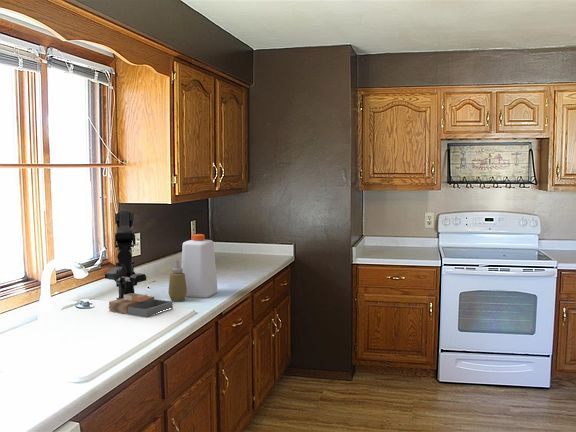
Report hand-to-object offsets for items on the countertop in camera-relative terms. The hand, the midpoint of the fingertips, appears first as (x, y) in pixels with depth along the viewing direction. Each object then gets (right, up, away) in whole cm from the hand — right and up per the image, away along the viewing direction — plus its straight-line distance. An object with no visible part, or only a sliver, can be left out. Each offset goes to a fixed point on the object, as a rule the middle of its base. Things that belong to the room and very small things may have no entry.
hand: (125, 296), depth 248 cm
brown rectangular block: (+3, -5, -1) cm, 6 cm away
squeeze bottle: (+19, -4, +14) cm, 24 cm away
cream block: (+3, -1, -1) cm, 3 cm away
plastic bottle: (+27, -3, +26) cm, 37 cm away
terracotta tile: (+7, -1, -4) cm, 8 cm away
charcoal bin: (+12, -5, -6) cm, 14 cm away
